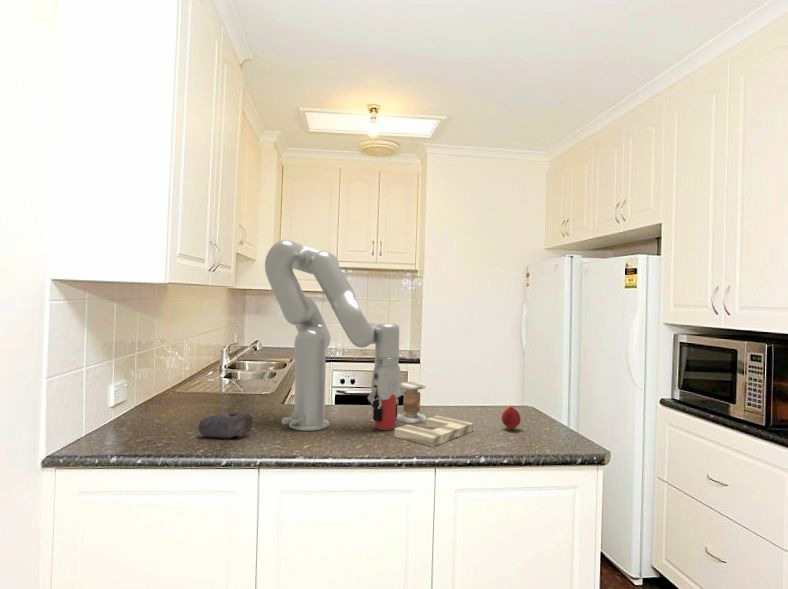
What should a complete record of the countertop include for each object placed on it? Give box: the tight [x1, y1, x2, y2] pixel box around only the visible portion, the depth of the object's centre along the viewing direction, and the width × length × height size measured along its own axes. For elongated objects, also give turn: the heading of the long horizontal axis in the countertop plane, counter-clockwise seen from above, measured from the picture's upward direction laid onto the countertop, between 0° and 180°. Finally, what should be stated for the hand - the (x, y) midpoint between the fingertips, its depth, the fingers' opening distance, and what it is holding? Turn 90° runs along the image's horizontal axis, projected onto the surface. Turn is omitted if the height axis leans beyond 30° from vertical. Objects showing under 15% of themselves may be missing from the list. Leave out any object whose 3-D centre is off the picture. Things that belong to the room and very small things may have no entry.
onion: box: [501, 404, 521, 431], centre depth 155 cm, size 6×6×8 cm
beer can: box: [374, 394, 397, 431], centre depth 153 cm, size 7×7×12 cm
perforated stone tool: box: [197, 412, 253, 439], centre depth 139 cm, size 15×5×7 cm, turn 91°
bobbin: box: [396, 381, 427, 424], centre depth 165 cm, size 10×10×12 cm
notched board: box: [394, 415, 474, 448], centre depth 148 cm, size 22×14×2 cm, turn 140°
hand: (385, 418), depth 153 cm, fingers closed on beer can, 6 cm apart
